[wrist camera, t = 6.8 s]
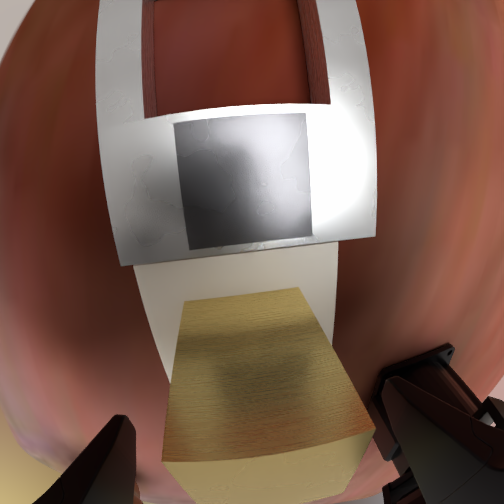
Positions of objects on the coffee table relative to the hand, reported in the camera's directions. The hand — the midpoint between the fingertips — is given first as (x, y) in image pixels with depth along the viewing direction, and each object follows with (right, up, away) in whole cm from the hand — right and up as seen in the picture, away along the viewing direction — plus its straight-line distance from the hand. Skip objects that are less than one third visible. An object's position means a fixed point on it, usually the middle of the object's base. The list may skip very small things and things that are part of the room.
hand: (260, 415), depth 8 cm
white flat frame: (-1, +12, +1) cm, 12 cm away
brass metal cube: (0, +1, +4) cm, 4 cm away
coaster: (-1, +2, +5) cm, 5 cm away
